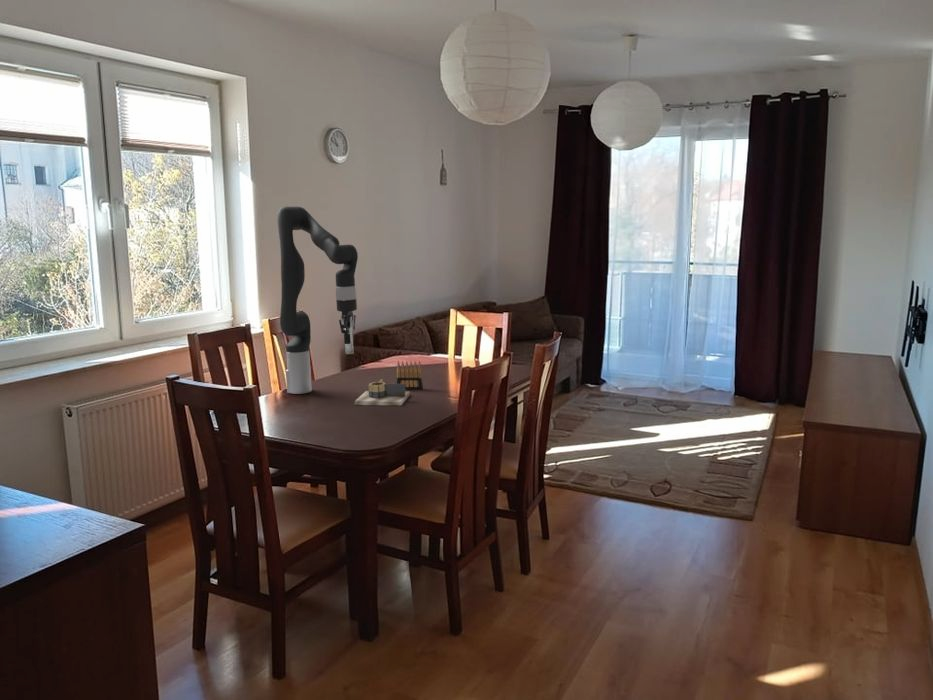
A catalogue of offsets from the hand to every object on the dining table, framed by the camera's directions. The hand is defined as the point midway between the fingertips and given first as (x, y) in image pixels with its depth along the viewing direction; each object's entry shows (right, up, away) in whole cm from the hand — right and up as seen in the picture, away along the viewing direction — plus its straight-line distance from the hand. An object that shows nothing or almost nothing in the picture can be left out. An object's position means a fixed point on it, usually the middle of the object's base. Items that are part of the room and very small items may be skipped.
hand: (348, 342), depth 280 cm
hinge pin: (0, -4, +1) cm, 4 cm away
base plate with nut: (+12, -22, +7) cm, 26 cm away
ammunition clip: (+22, -19, +24) cm, 37 cm away
